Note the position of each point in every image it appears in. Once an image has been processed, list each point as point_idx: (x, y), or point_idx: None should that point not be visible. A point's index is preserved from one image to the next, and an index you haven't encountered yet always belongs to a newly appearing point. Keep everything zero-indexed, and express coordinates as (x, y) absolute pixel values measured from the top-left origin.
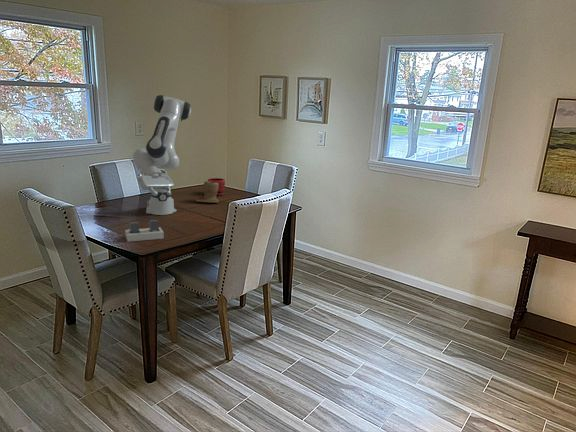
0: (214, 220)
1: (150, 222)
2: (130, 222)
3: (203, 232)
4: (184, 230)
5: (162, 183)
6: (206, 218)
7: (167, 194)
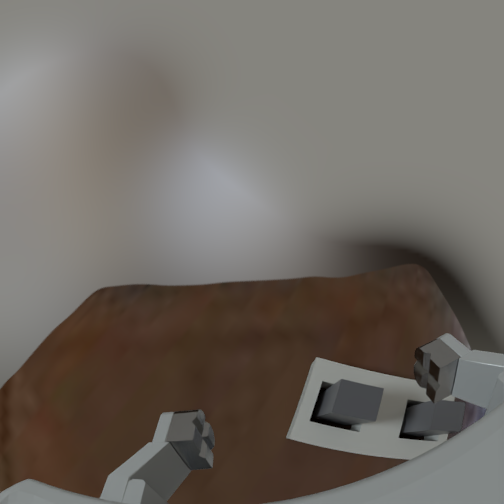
0: (13, 408)
1: (381, 391)
2: (459, 424)
3: (127, 332)
4: (167, 407)
5: None
6: (16, 447)
7: (211, 446)
